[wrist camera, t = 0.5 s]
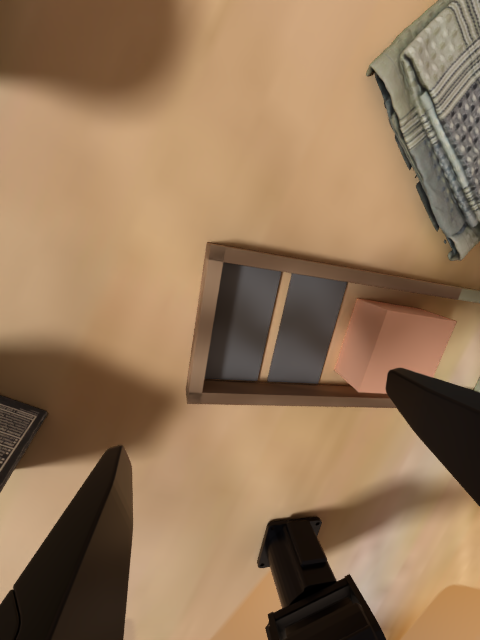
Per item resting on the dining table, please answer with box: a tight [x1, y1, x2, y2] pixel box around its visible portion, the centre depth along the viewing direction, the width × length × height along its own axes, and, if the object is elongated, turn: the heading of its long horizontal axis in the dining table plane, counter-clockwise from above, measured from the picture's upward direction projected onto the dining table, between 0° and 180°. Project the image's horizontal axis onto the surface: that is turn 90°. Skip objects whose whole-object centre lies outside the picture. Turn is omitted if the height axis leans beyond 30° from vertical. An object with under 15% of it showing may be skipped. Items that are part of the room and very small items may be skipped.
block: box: [334, 298, 457, 394], centre depth 25 cm, size 7×7×4 cm
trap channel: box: [186, 242, 480, 408], centre depth 25 cm, size 12×34×4 cm, turn 79°
